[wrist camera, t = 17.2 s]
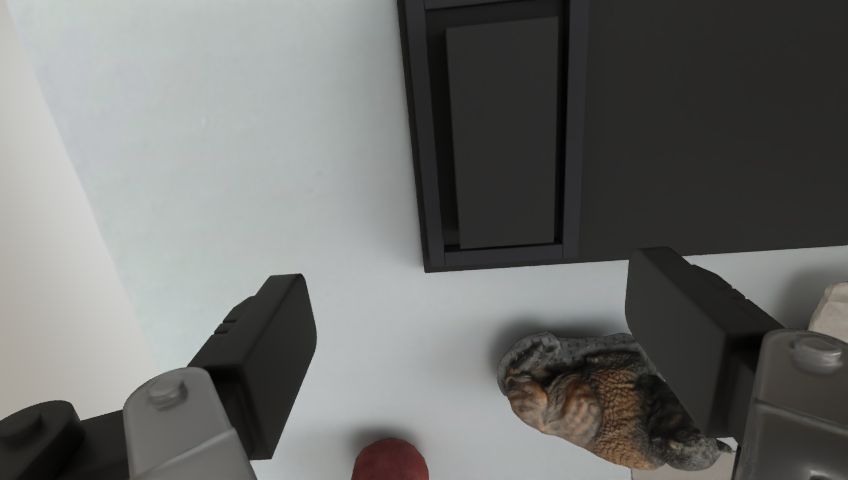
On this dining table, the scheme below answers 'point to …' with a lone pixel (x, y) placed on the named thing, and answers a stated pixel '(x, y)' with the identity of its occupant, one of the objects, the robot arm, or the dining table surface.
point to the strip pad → (504, 130)
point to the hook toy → (390, 462)
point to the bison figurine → (604, 401)
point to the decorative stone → (832, 312)
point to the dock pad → (656, 127)
